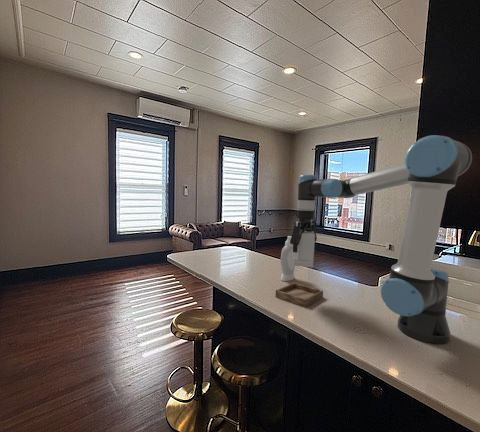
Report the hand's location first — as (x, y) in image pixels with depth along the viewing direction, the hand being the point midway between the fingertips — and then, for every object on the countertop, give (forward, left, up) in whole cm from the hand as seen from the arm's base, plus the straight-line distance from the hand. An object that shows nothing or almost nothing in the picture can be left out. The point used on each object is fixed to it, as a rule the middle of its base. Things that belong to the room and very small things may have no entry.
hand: (303, 257), depth 120 cm
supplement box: (0, 0, -4) cm, 4 cm away
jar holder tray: (+1, 0, -19) cm, 19 cm away
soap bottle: (+18, -18, -19) cm, 32 cm away
